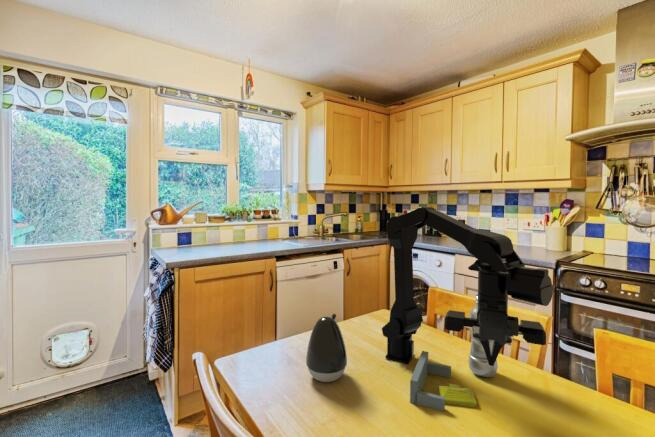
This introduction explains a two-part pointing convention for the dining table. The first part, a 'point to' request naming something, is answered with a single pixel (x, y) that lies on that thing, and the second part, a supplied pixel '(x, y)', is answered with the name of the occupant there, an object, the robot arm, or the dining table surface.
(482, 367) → the plastic bottle
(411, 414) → the dining table surface
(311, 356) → the dark grey egg shape
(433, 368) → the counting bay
